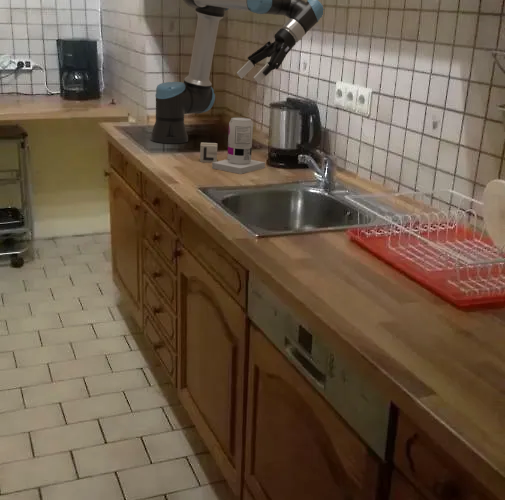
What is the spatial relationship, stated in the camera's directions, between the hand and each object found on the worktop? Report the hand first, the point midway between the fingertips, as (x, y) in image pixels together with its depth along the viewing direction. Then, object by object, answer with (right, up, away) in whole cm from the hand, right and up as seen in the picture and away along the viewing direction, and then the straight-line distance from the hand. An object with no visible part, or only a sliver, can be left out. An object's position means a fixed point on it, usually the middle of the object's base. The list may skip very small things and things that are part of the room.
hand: (247, 78), depth 236 cm
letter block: (-14, -28, +10) cm, 32 cm away
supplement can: (-3, -30, 0) cm, 30 cm away
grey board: (-3, -31, +1) cm, 31 cm away
